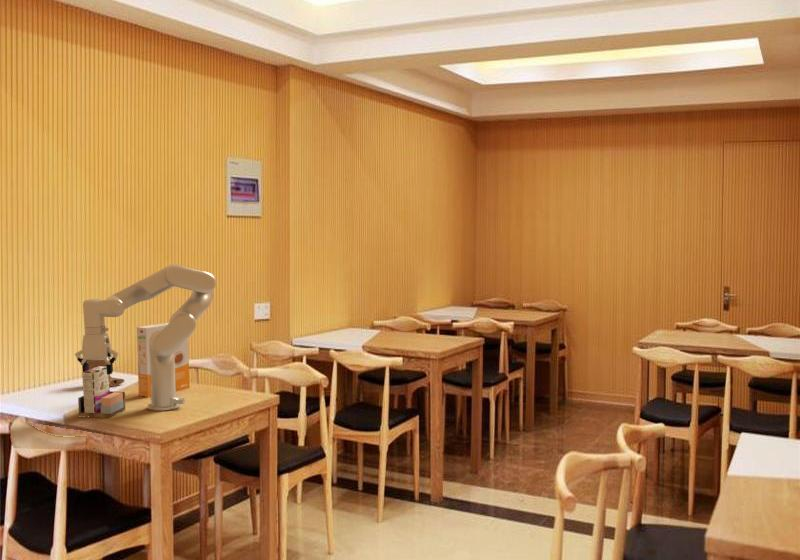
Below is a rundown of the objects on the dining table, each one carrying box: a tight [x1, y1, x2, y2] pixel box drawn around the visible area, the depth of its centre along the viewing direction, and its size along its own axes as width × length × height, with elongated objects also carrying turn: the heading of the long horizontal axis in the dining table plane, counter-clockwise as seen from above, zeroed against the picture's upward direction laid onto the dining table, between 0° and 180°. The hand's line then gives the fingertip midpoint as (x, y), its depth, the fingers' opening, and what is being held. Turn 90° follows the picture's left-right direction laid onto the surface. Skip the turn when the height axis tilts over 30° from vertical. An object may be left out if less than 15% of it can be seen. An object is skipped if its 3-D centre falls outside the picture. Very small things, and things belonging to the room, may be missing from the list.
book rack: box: [77, 390, 126, 418], centre depth 301 cm, size 13×12×8 cm
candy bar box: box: [81, 366, 111, 413], centre depth 300 cm, size 11×5×16 cm, turn 170°
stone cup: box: [87, 360, 125, 387], centre depth 353 cm, size 15×12×15 cm
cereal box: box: [136, 322, 190, 398], centre depth 339 cm, size 22×6×30 cm, turn 146°
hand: (98, 374), depth 300 cm, fingers open, 9 cm apart
